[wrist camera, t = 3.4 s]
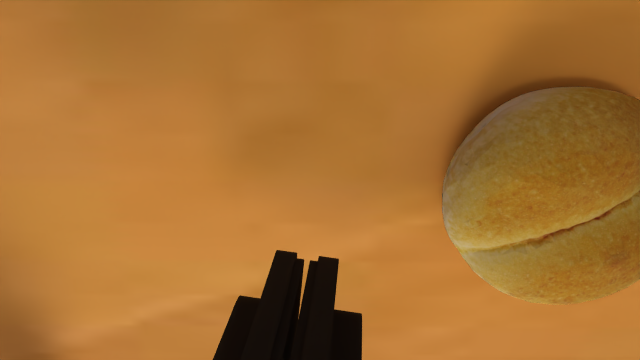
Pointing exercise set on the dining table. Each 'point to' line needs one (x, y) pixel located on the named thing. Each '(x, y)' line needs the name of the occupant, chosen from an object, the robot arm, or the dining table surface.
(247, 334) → the robot arm
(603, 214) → the bread roll
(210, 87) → the dining table surface
